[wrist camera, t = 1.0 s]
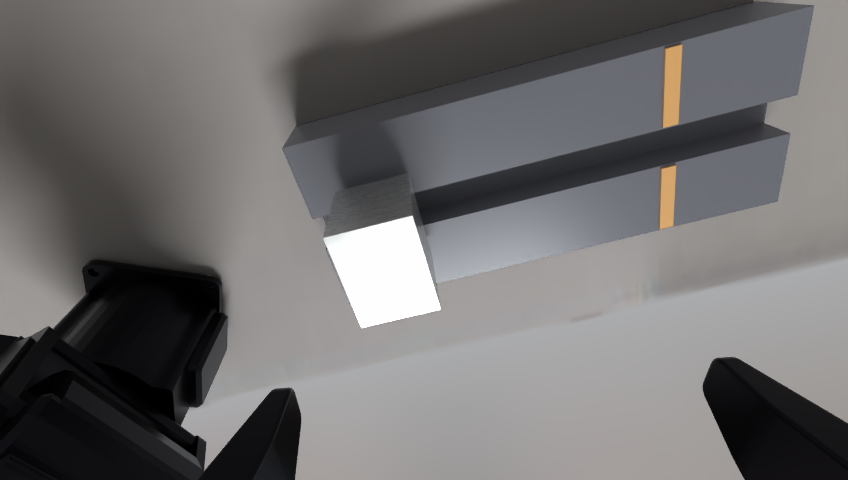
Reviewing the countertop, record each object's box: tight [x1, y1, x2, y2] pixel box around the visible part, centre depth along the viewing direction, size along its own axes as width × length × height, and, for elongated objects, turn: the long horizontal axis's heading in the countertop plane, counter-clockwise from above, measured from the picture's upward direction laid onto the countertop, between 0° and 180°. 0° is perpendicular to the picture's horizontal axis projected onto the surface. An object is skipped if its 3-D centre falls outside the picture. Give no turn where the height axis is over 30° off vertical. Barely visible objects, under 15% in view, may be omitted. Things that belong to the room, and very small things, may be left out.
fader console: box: [282, 2, 814, 304], centre depth 20 cm, size 20×8×3 cm, turn 104°
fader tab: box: [323, 173, 440, 328], centre depth 18 cm, size 3×4×6 cm
